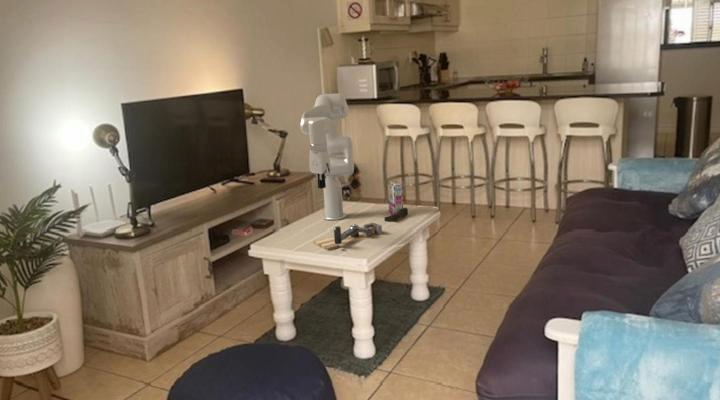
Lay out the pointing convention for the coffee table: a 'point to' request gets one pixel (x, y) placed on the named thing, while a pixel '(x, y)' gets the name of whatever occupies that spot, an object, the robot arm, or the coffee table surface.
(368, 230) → the lever
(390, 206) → the candy bar box
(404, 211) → the hand tool
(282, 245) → the coffee table surface
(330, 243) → the tan wooden panel
